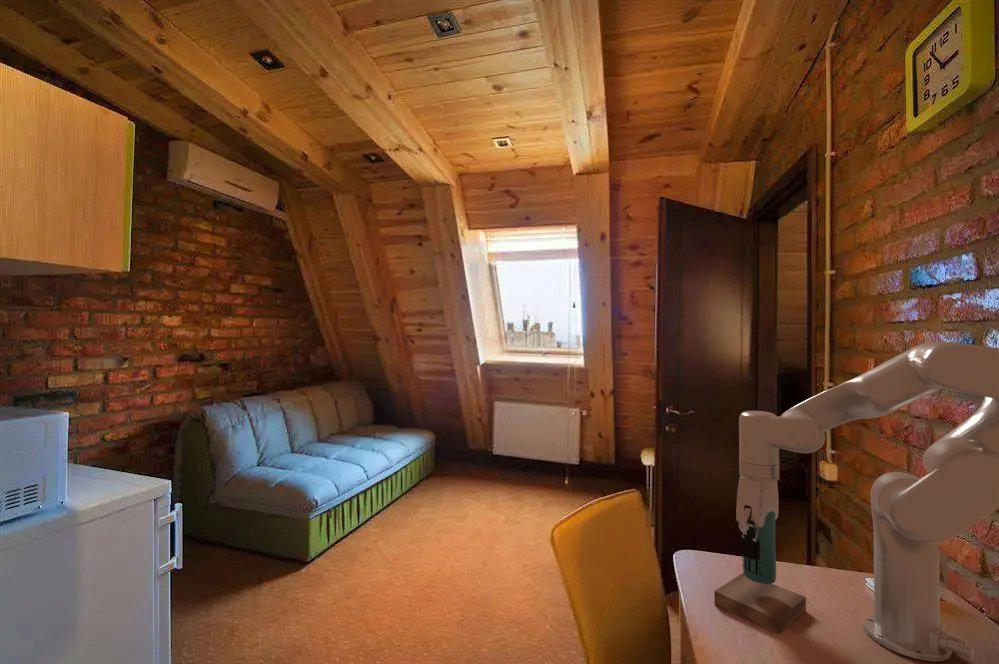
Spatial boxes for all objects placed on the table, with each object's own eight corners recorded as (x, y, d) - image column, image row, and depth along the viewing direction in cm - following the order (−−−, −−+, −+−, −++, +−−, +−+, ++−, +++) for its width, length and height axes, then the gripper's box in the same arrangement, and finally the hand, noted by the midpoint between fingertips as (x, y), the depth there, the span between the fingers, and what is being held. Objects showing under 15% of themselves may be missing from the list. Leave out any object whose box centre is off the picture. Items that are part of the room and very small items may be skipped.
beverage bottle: (777, 581, 102) (777, 488, 103) (776, 595, 97) (775, 497, 97) (743, 573, 106) (743, 483, 106) (740, 586, 100) (740, 491, 100)
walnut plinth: (805, 611, 100) (805, 597, 100) (779, 635, 92) (778, 619, 92) (743, 585, 110) (743, 572, 110) (714, 604, 103) (714, 591, 103)
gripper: (759, 459, 110) (759, 536, 110) (721, 472, 99) (721, 558, 99) (794, 466, 104) (795, 548, 104) (758, 481, 93) (758, 572, 93)
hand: (759, 552), depth 101 cm, fingers closed on beverage bottle, 6 cm apart
